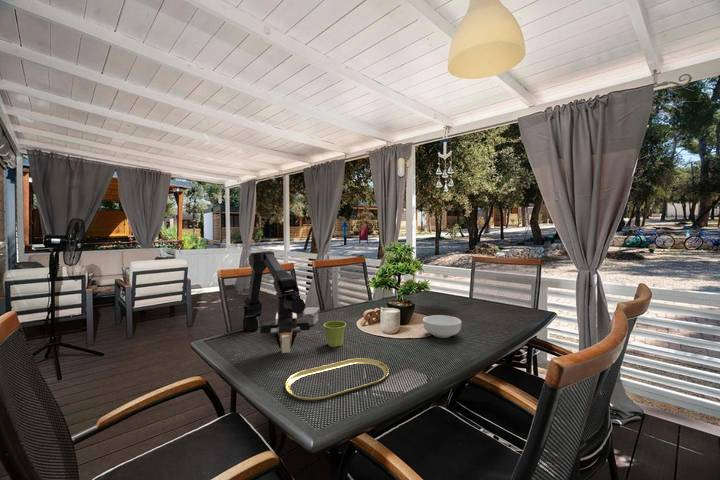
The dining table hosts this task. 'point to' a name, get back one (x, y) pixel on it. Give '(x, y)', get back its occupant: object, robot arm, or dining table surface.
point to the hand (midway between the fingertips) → (285, 347)
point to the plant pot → (334, 332)
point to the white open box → (277, 317)
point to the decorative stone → (311, 315)
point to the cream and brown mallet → (285, 341)
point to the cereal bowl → (442, 325)
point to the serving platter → (332, 366)
